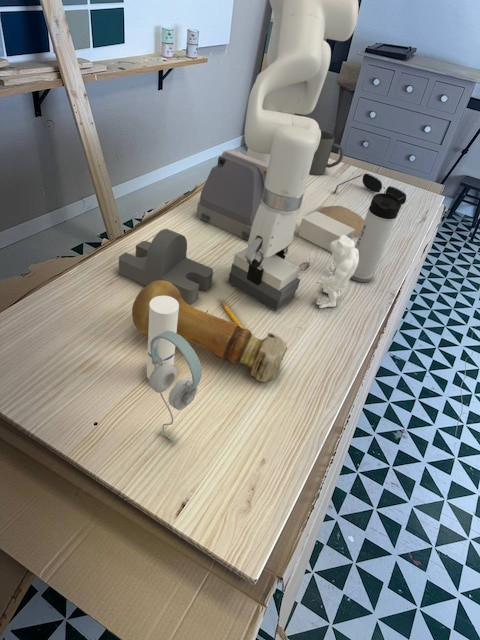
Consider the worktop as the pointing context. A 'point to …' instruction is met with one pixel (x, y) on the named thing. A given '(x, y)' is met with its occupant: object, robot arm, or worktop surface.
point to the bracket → (167, 265)
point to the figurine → (339, 269)
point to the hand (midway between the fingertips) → (264, 274)
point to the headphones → (174, 373)
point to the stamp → (214, 333)
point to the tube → (162, 328)
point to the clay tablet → (344, 217)
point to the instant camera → (233, 193)
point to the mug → (324, 154)
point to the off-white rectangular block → (323, 230)
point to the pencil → (231, 315)
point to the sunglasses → (379, 187)
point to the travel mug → (375, 234)
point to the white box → (271, 269)
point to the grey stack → (263, 289)
